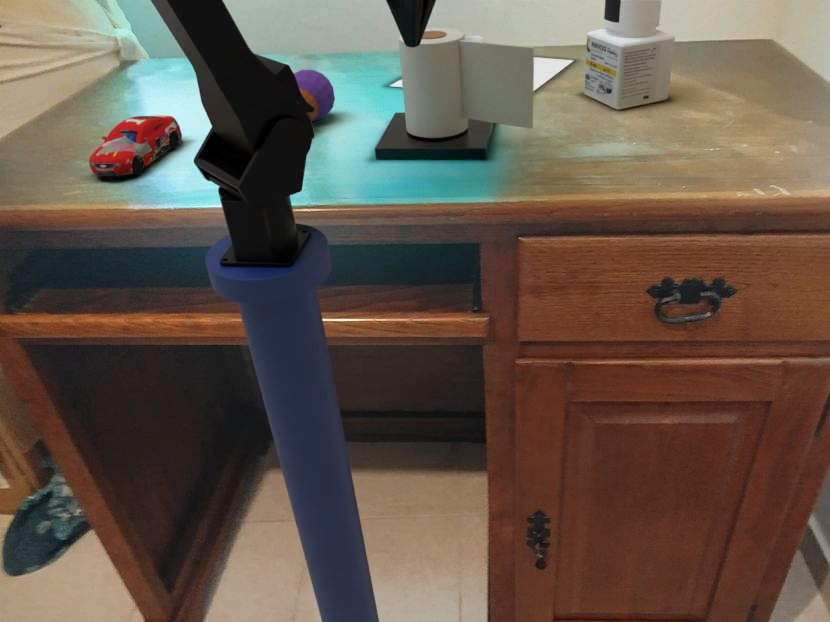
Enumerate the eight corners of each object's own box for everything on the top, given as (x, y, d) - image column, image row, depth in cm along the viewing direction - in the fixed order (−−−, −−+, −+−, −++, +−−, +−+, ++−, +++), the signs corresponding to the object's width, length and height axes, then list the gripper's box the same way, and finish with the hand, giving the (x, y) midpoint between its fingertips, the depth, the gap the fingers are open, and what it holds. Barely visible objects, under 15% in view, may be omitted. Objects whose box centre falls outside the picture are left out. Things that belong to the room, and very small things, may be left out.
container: (582, 94, 94) (588, -16, 87) (632, 85, 97) (642, -24, 89) (616, 111, 89) (626, -6, 81) (668, 100, 91) (682, -15, 84)
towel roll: (532, 143, 77) (534, 44, 71) (398, 143, 79) (389, 47, 73) (535, 116, 84) (536, 24, 78) (411, 117, 86) (404, 27, 80)
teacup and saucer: (514, 63, 108) (514, 34, 105) (492, 78, 102) (491, 47, 100) (461, 58, 111) (460, 30, 109) (436, 72, 105) (435, 43, 103)
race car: (129, 184, 76) (117, 147, 74) (84, 182, 77) (70, 145, 75) (192, 139, 87) (183, 105, 84) (151, 137, 88) (141, 104, 85)
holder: (485, 159, 78) (485, 148, 77) (375, 159, 79) (374, 148, 78) (494, 121, 87) (494, 111, 87) (396, 122, 89) (395, 112, 88)
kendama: (221, 136, 75) (286, 67, 90) (245, 187, 79) (304, 113, 94) (272, 126, 74) (330, 58, 88) (294, 179, 77) (347, 105, 92)
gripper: (396, -170, 67) (411, 12, 77) (235, -151, 55) (276, 60, 65) (495, -170, 61) (498, 26, 71) (340, -149, 50) (368, 81, 60)
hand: (412, 46), depth 67 cm, fingers closed
